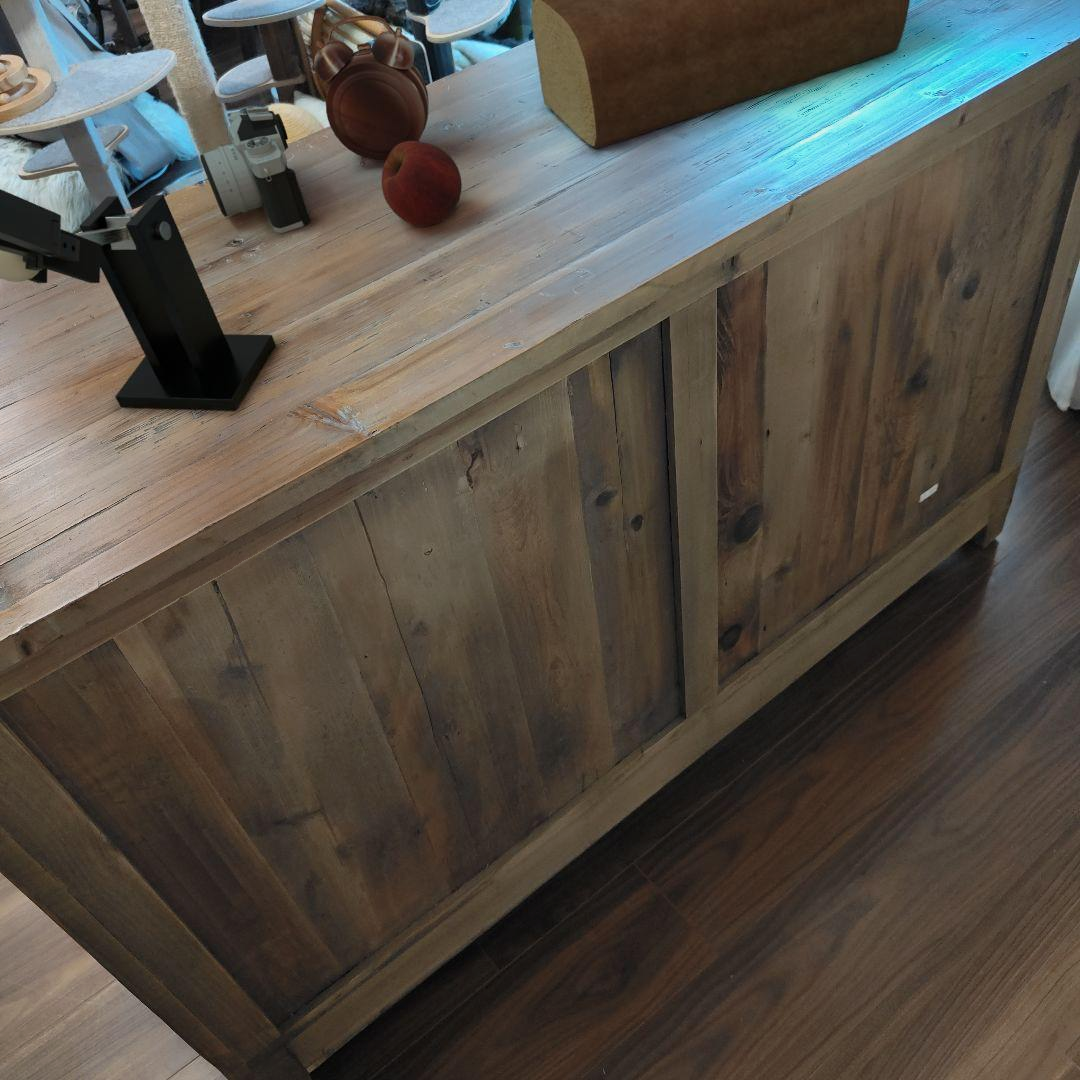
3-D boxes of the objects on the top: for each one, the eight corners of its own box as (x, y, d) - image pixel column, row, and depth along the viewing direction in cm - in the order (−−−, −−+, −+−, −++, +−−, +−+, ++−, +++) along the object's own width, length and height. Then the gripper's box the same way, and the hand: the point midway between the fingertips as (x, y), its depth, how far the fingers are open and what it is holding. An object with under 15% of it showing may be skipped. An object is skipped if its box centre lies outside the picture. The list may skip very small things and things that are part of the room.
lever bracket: (236, 411, 84) (159, 241, 72) (120, 407, 86) (28, 242, 75) (276, 345, 89) (210, 178, 78) (167, 344, 92) (88, 182, 81)
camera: (212, 190, 112) (176, 101, 105) (289, 165, 114) (259, 76, 107) (237, 251, 102) (200, 157, 95) (321, 224, 104) (291, 129, 96)
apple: (387, 212, 104) (367, 136, 98) (460, 193, 104) (444, 117, 98) (397, 246, 98) (377, 169, 93) (474, 227, 99) (459, 149, 93)
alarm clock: (441, 143, 113) (410, 0, 102) (436, 163, 110) (404, 18, 99) (346, 154, 114) (307, 14, 103) (339, 175, 111) (297, 33, 100)
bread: (538, 106, 116) (521, -20, 106) (830, 13, 123) (839, -113, 113) (594, 157, 106) (581, 23, 96) (909, 53, 112) (927, -82, 103)
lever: (24, 286, 65) (10, 227, 63) (-23, 286, 66) (-38, 228, 64) (166, 252, 79) (158, 204, 78) (126, 253, 80) (117, 205, 79)
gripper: (-398, 232, 51) (-31, 316, 73) (-127, 227, 47) (171, 318, 70) (-397, 80, 50) (-29, 212, 73) (-124, 62, 46) (175, 207, 69)
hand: (68, 263), depth 71 cm, fingers closed on lever, 4 cm apart
